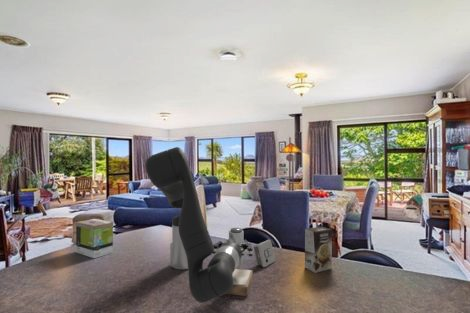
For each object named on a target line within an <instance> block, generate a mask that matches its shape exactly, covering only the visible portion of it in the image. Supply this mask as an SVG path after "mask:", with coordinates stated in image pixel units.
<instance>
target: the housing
mask: <svg viewBox="0 0 470 313" xmlns="http://www.w3.org/2000/svg"><path fill="white" fill-rule="evenodd" d="M244 236H245V235H244V230H243V228H241V227H231V228H230V229H229V231H228V239H229V242H233V243H235V244H238V243H243V242H244V240H245V239H244ZM244 256H245V254H244V255H243V256H242V257H241V260H240V262H239V264H238V266H237V268H236V269H242V268H243V267H244V265H245V264H244V263H245V262H244V261H245V260H244Z"/></svg>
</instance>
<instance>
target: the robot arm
mask: <svg viewBox="0 0 470 313" xmlns="http://www.w3.org/2000/svg"><path fill="white" fill-rule="evenodd" d="M145 171H146V174H147V177H148V179H149V181H150V183H152V185H154V187H156V188H157V189H159V190H160V191H161V192H162V194H163V196H165V197H166V199H167V200H168V204H169V206H170V207H171V208H174V209H181V210H180V214H178V215H175V216H174V217H173V218H172V220H171V222H172V224H171V232H172V233H171V237H172V238H171V242H170V245H169V246H170V247H169V248H170V250H169V251H170V252H169V260H170V262H169V264H170V265H169V266H170V268H174V269H175V270H187V271H188V284H189V291H190V294H191V296H192V297H193V298H194V300H195V301H196V302H199V303H200V304H203V303H207V302H209V301H212V300H213V299H216V298H219V297H222V296H224V295H227V294H226V293H228V292H229V291H230V290H231V289H232V288H233V272H234V271H235V269H236V268H237V266H238V264H239V262H240V260H241V257H242V256H243V255H244V256H245V255H248V256H249V257H253V250H254V247H253V244H252V243H250V242H249V241H248V240H247V239H244V242H243V243H238V244H235V243H233V242H229V238H228V239H226V240H224V241H222V240H219V241H218V242H215V243H214V242H213V241H212V238H211V236H210V233H209V230H208V227H207V225H206V222H205V219H204V217H203V216H204V215H203V212H202V209H201V205H200V204H201V203H200V200H199V195H198V192H197V188H196V185H195V181H194V177H193V173H192V170H191V167H190V164H189V161H188V158H187V156H186V154H185V152H184V150H183V149H182V148H181V147H179V146H178V147H177V146H176V147H173V148H168V149H166V150H164V151H160V152H157V153H155V154H152V155H150V156H149V157H148V158H147V159H146V160H145ZM212 254H213V257H212V258H211V259H210V261H209V262H208V264H207V267H206V268H204V269H203V266H204V265H203V263H204V260H206V259H207V258H208V257H209V256H211V255H212Z"/></svg>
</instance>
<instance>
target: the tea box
mask: <svg viewBox="0 0 470 313" xmlns="http://www.w3.org/2000/svg"><path fill="white" fill-rule="evenodd" d="M75 223H76V224H75V226H76V227H75V228H76V229H75V230H76V231H75V233H76V234H75V235H76V239H75V248H76V249H75V252H76V253H77V254H80V255H83V256H85V257H89V258H91V259H96V258H97V259H98V258H100V257H104V256H106V255H110V254H113V252H114V222H113V221H109V220H104V219H101V218H92V219H91V218H90V219H85V220H81V221H76V222H75Z"/></svg>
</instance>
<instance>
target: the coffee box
mask: <svg viewBox="0 0 470 313" xmlns="http://www.w3.org/2000/svg"><path fill="white" fill-rule="evenodd" d="M304 232H305V233H304V234H305V235H304V243H305V244H304V268H305V269H307V270H308V271H311V272H312V273H315V274H317V273H320V272H325V271H328V270H332V267H333V266H332V260H333V255H332V254H333V251H332V250H333V249H332V248H333V247H332V246H333V245H332V244H333V243H332V242H333V236H332V235H333V229H331V228H327V227H325V226H324V227H323V226H315V227H308V228H305V230H304Z"/></svg>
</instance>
